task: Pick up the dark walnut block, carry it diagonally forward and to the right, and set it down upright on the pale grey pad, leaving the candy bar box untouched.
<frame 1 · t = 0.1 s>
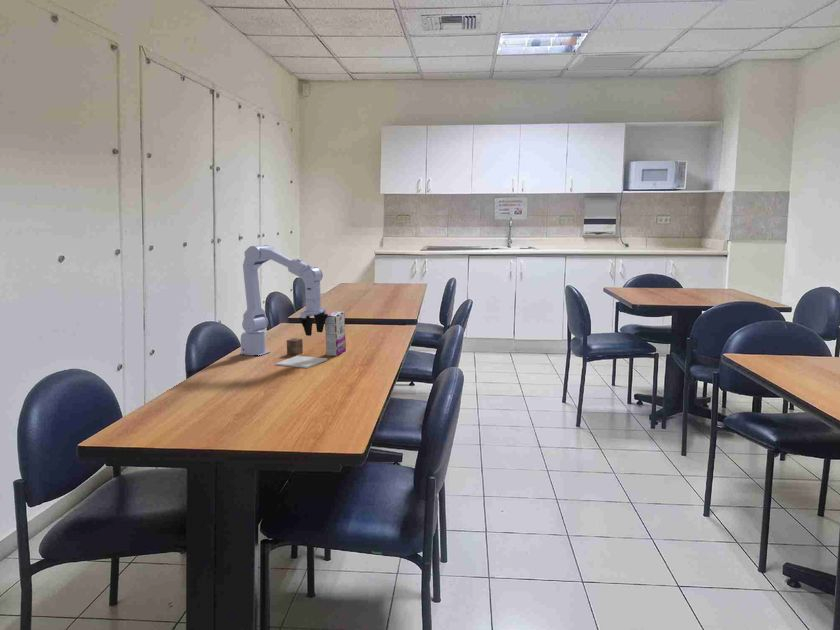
hand: (314, 333, 247), 10 cm above the table, tool pointing down, fingers open, 7 cm apart
candy bar box: (336, 353, 258), on the table
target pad: (301, 362, 242), on the table
walnut block: (295, 354, 257), on the table
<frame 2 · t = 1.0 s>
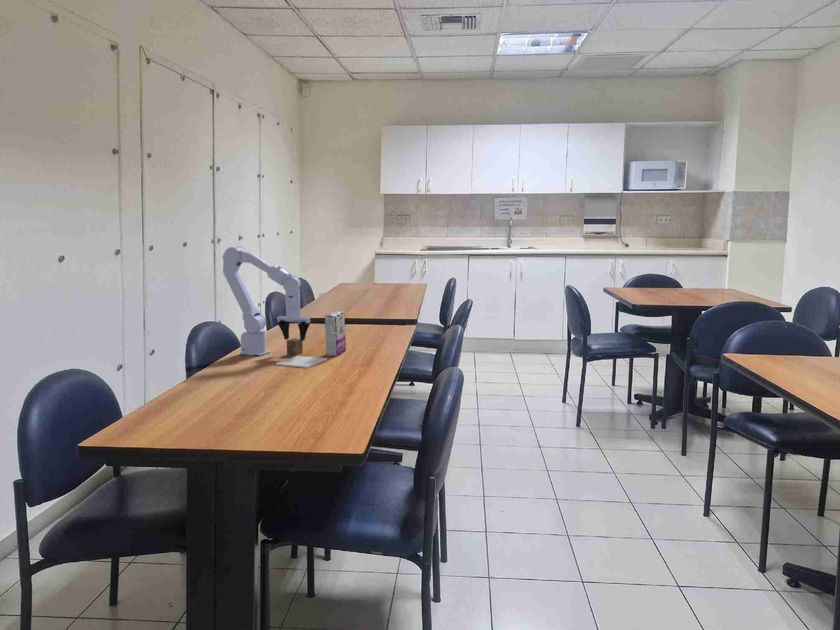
hand: (294, 339, 256), 6 cm above the table, tool pointing down, fingers open, 7 cm apart
nothing on the table moved.
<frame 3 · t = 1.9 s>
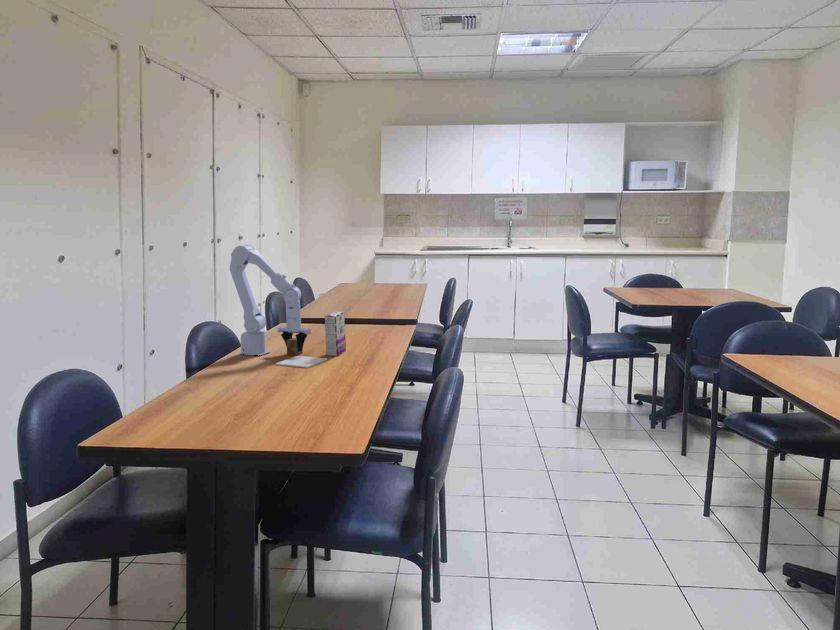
hand: (294, 350, 257), 1 cm above the table, tool pointing down, fingers closed on walnut block, 4 cm apart
walnut block: (295, 354, 257), on the table, touching gripper
everything else where it was.
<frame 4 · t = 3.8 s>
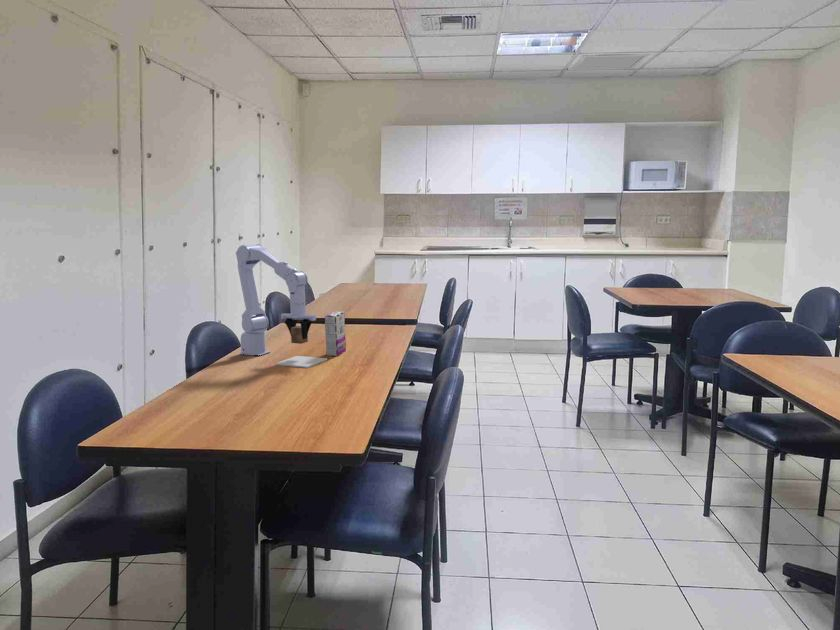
hand: (299, 338, 246), 9 cm above the table, tool pointing down, fingers closed on walnut block, 4 cm apart
walnut block: (299, 342, 246), point 7 cm above the table, touching gripper
everything else where it was.
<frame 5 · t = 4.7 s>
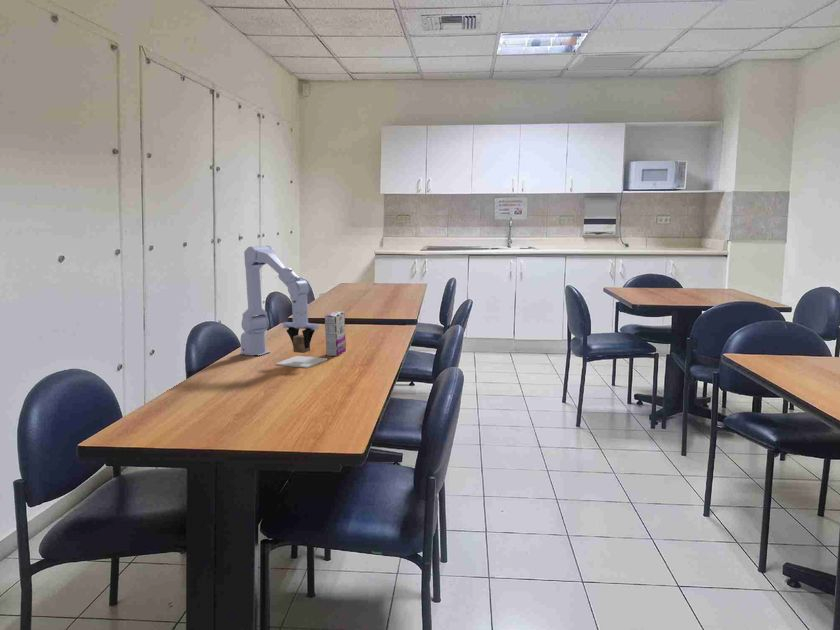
hand: (301, 347, 241), 6 cm above the table, tool pointing down, fingers closed on walnut block, 4 cm apart
walnut block: (301, 351, 242), point 4 cm above the table, touching gripper
everything else where it was.
when the fingers open (3 cm above the table, at t = 5.6 s): walnut block drops 1 cm, resting on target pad.
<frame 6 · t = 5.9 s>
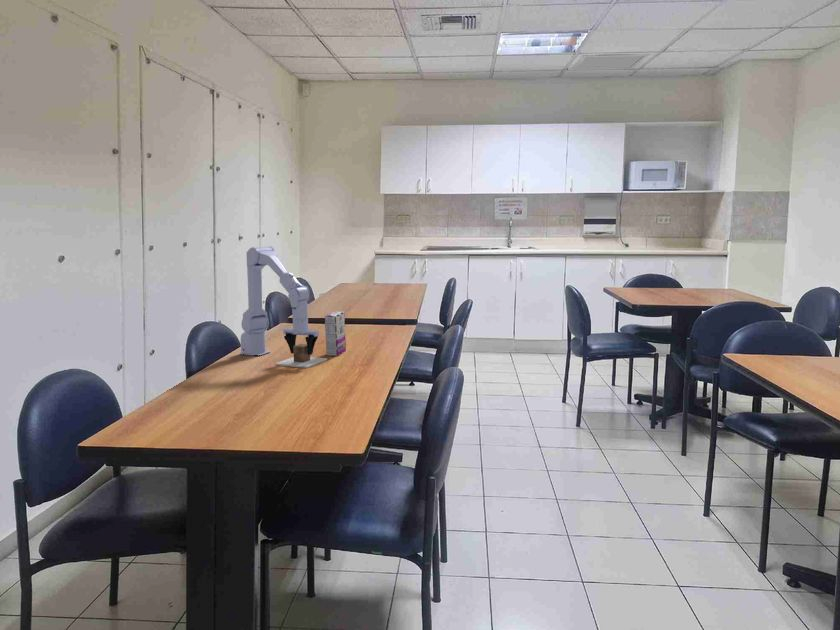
hand: (301, 353, 242), 3 cm above the table, tool pointing down, fingers open, 7 cm apart
walnut block: (302, 360, 242), point 1 cm above the table, touching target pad
everything else where it was.
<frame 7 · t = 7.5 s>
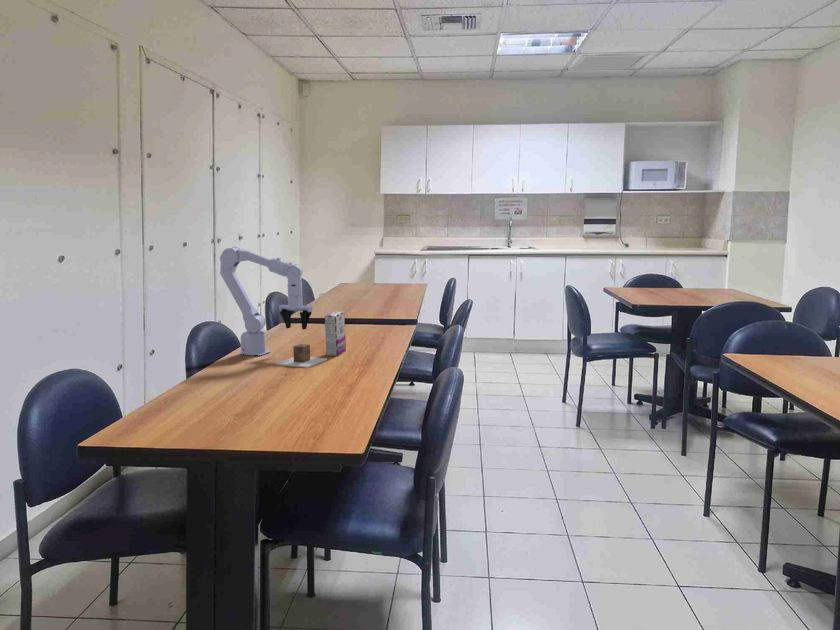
hand: (296, 328, 257), 10 cm above the table, tool pointing down, fingers open, 7 cm apart
nothing on the table moved.
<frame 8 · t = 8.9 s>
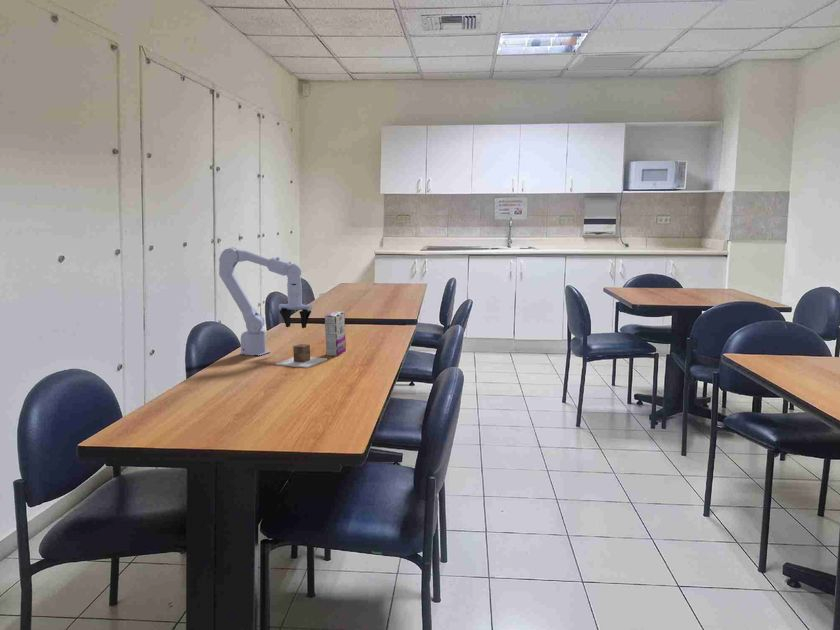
hand: (296, 327, 259), 10 cm above the table, tool pointing down, fingers open, 7 cm apart
nothing on the table moved.
at the end: walnut block inside the target area on the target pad (0.2 cm from its centre), point 0.6 cm above the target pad's base; walnut block tilted 0°; the gripper is holding nothing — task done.
